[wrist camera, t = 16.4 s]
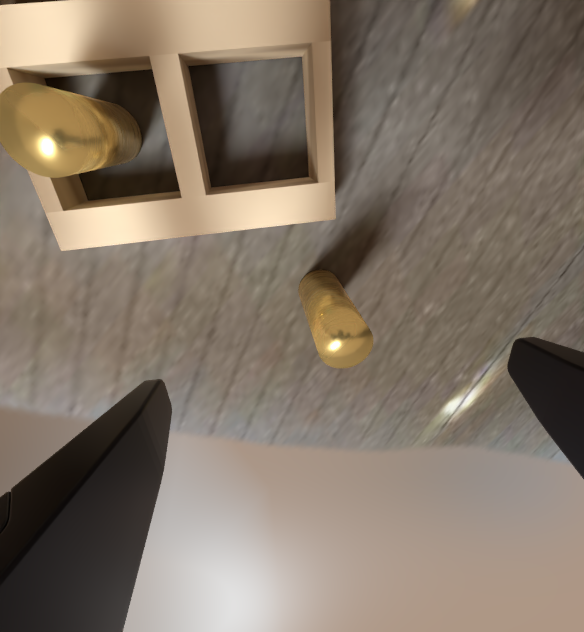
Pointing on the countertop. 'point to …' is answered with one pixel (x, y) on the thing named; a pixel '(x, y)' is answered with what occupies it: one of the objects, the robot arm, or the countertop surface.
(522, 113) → the countertop surface
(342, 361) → the pin
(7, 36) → the socket board
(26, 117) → the pin
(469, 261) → the countertop surface
